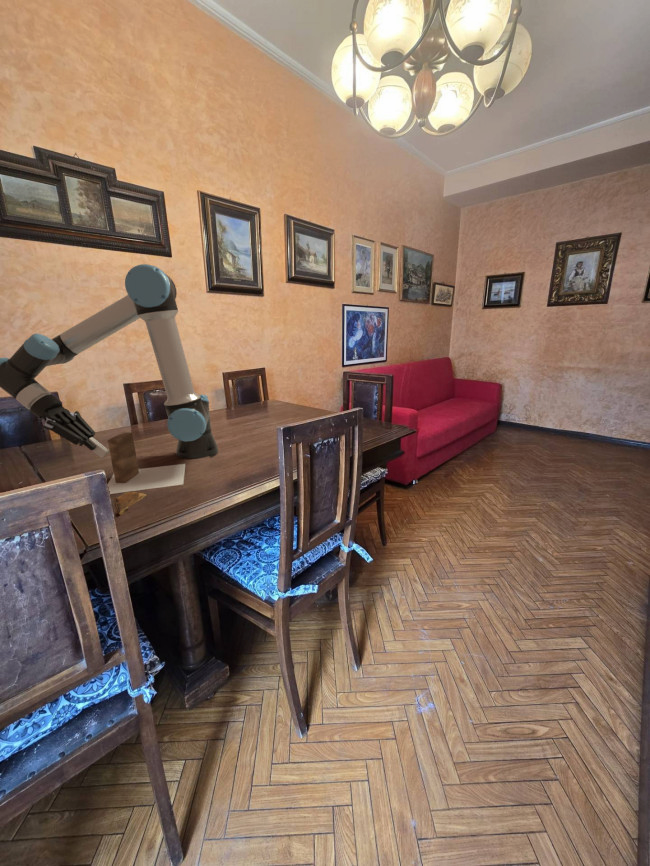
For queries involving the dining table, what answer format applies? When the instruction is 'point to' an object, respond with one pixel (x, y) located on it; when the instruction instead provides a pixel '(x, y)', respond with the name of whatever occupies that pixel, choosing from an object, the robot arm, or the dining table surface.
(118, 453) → the walnut slab
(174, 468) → the white paper sheet
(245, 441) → the dining table surface
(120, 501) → the shard
